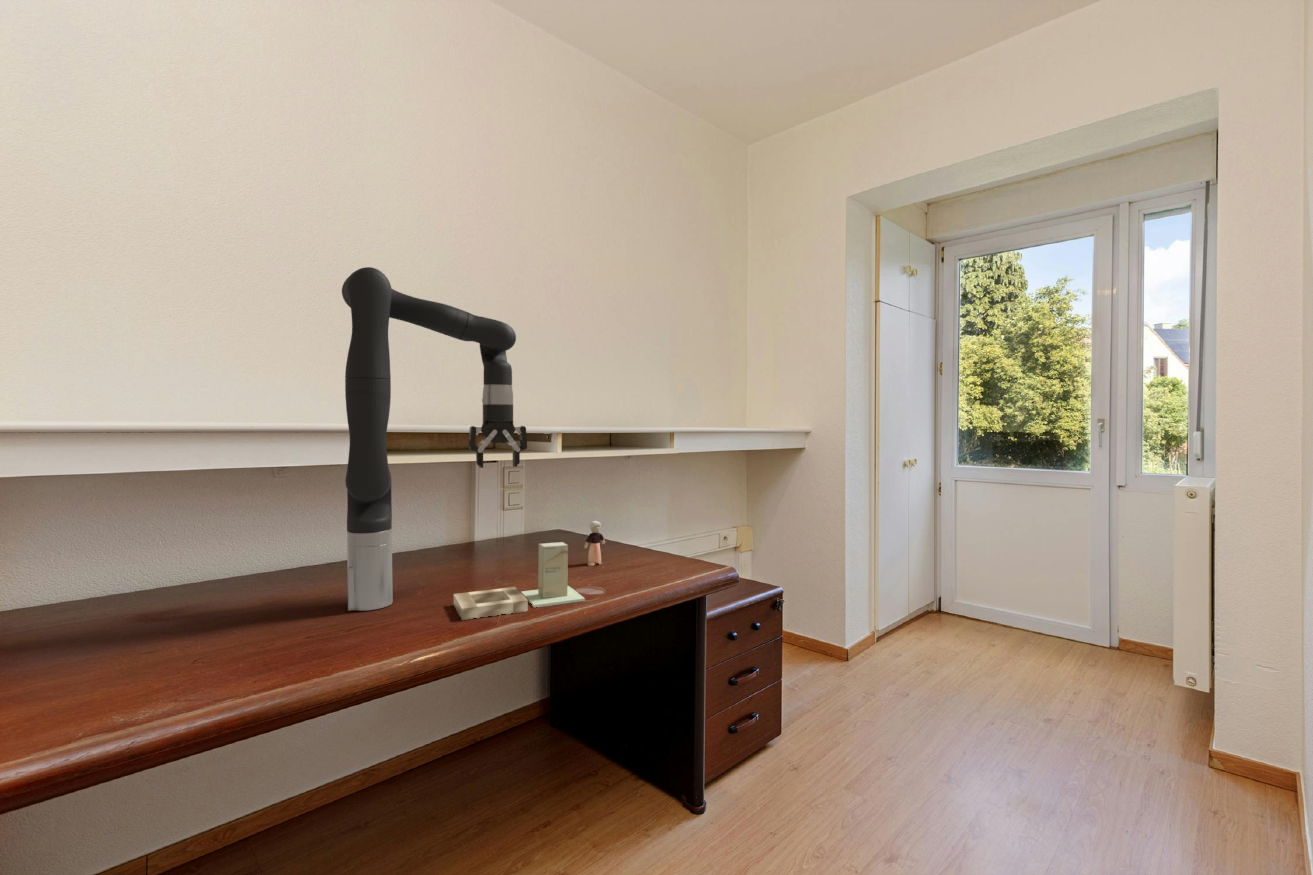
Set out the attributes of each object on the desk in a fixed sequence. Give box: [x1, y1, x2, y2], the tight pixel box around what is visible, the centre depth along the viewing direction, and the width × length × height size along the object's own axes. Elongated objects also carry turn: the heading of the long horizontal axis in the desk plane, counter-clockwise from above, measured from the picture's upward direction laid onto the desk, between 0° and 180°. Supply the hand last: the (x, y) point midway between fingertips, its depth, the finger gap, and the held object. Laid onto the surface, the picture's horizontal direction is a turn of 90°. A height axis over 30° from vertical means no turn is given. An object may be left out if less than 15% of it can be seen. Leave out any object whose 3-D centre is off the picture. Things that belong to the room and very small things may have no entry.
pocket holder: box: [453, 586, 529, 621], centre depth 140 cm, size 14×12×2 cm
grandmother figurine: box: [583, 520, 606, 567], centre depth 181 cm, size 8×4×13 cm, turn 148°
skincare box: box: [537, 541, 569, 598], centre depth 148 cm, size 6×4×12 cm
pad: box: [520, 585, 586, 609], centre depth 148 cm, size 12×12×1 cm
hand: (498, 467), depth 158 cm, fingers open, 8 cm apart
